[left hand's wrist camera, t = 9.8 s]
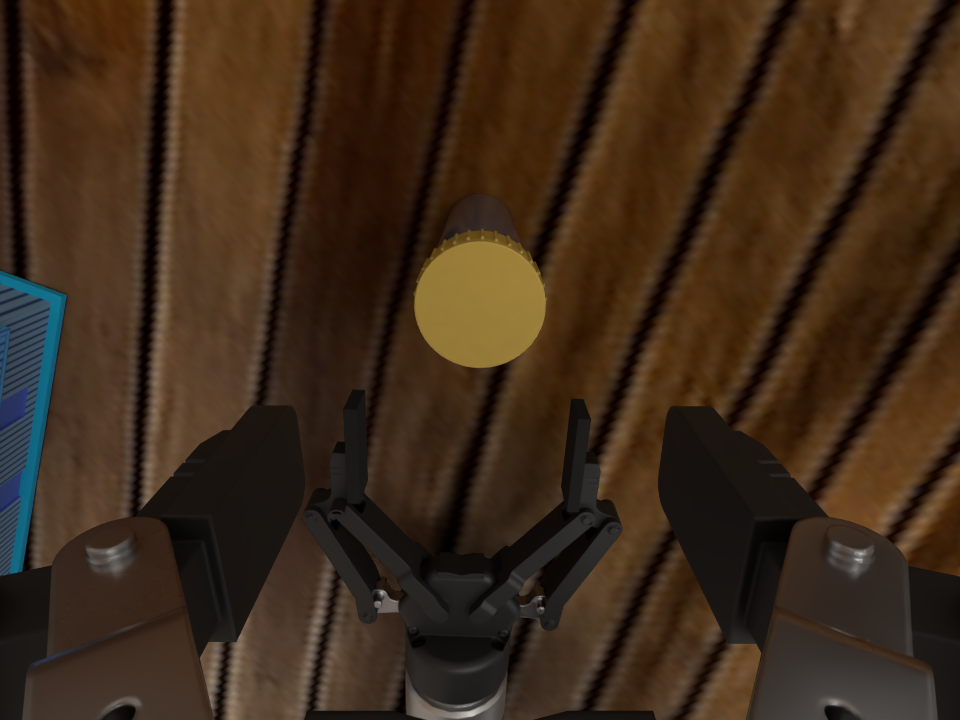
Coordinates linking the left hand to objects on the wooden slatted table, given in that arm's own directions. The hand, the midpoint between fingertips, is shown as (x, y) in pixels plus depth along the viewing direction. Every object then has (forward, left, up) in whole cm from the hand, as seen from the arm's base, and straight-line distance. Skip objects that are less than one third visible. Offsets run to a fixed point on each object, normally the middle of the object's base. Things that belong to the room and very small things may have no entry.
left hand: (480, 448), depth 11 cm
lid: (0, 0, -10) cm, 10 cm away
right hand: (-3, +9, -21) cm, 23 cm away
